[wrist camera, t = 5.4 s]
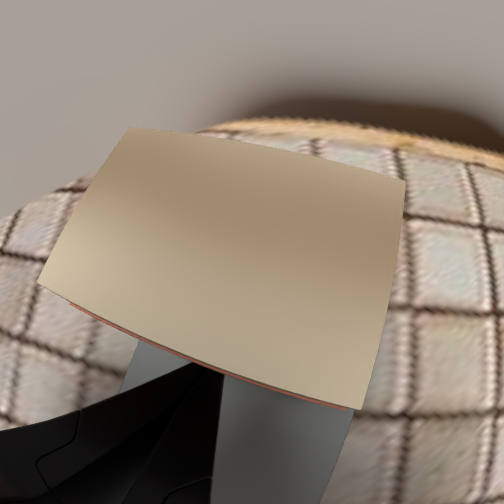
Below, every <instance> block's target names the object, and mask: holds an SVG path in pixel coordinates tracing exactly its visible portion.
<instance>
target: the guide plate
mask: <svg viewBox="0 0 504 504" xmlns="http://www.w3.org/2000/svg"><path fill="white" fill-rule="evenodd" d="M188 363H191V361H189V360H186V359H184V358H181V357H179V356H177V355H174V354H172V353H169V352H167V351H165V350H162V349H160V348H158V347H155V346H153V345H151V344H149V343H146V342H144V341H142V340H139V343H138V345H137V348H136V350H135V353H134V355H133V358H132V360H131V363H130V365H129V368H128V370H127V373H126V375H125V378H124V381H123V383H122V386H121V388H120V391H119V394H120V393H122V392H124V391H127V390H129V389H132V388H134V387H136V386H139V385H141V384H143V383H146V382H148V381H150V380H153V379H155V378H157V377H160V376H162V375H164V374H166V373H169V372H171V371H173V370H175V369H177V368H180V367H182V366H184V365H186V364H188ZM354 411H355V409H350V408H347V409H346V411H345V410H340V409H335V408H332V407H328V406H324V405H320V404H316V403H313V402H309V401H306V400H302V399H299V398H295V397H292V396H289V395H285V394H282V393H279V392H276V391H272V390H269V389H266V388H263V387H260V386H257V385H254V384H251V383H248V382H245V381H242V380H239V379H237V378H234V377H231V376H228V375H225V378H224V386H223V395H222V403H221V412H220V421H219V429H218V438H217V447H216V456H215V465H214V474H213V485H212V494H211V504H319V502H320V500H321V498H322V495H323V493H324V491H325V489H326V486H327V484H328V482H329V479H330V477H331V474H332V472H333V469H334V467H335V464H336V462H337V459H338V457H339V454H340V451H341V449H342V446H343V443H344V440H345V438H346V435H347V432H348V429H349V426H350V423H351V420H352V417H353V414H354Z"/></svg>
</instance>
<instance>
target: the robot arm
mask: <svg viewBox="0 0 504 504" xmlns="http://www.w3.org/2000/svg"><path fill="white" fill-rule="evenodd" d="M224 378H225V374H223V373H220V372H217V371H215V370H212V369H209V368H207V367H204V366H201V365H199V364H196V363H194V362H191V363H188V364H186V365H184V366H182V367H180V368H177V369H175V370H173V371H171V372H169V373H166V374H164V375H162V376H160V377H157V378H155V379H153V380H150V381H148V382H146V383H143V384H141V385H139V386H136V387H134V388H132V389H129V390H127V391H124V392H122V393H120V394H117V395H115V396H112V397H110V398H107V399H105V400H102V401H100V402H97V403H95V404H92V405H90V406H87V407H84V408H82V409H81V411H80V410H76V411H74V412H71V413H68V414H65V415H62V416H59V417H56V418H53V419H50V420H47V421H43V422H39V423H35V424H31V425H27V426H22V427H17V428H12V429H7V430H2V431H0V504H211V494H212V485H213V474H214V465H215V456H216V447H217V438H218V429H219V421H220V412H221V403H222V395H223V386H224Z"/></svg>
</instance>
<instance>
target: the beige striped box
mask: <svg viewBox="0 0 504 504" xmlns="http://www.w3.org/2000/svg"><path fill="white" fill-rule="evenodd" d="M405 185H406V181H403V180H400V179H397V178H393V177H390V176H387V175H383V174H380V173H376V172H373V171H369V170H365V169H362V168H358V167H354V166H350V165H347V164H343V163H339V162H335V161H331V160H327V159H322V158H318V157H314V156H310V155H305V154H301V153H296V152H291V151H287V150H282V149H277V148H272V147H267V146H262V145H257V144H251V143H246V142H240V141H234V140H228V139H222V138H216V137H209V136H202V135H195V134H188V133H181V132H172V131H164V130H155V129H145V128H135V127H129V129H128V130H127V132H126V133H125V134H124V136H123V137H122V138H121V140H120V141H119V143H118V144H117V145H116V147H115V148H114V149H113V151H112V152H111V154H110V155H109V157H108V158H107V160H106V161H105V163H104V164H103V165H102V167H101V168H100V170H99V171H98V173H97V175H96V176H95V178H94V179H93V181H92V182H91V184H90V185H89V187H88V189H87V190H86V192H85V193H84V195H83V197H82V198H81V200H80V202H79V203H78V205H77V207H76V208H75V210H74V212H73V214H72V215H71V217H70V219H69V221H68V222H67V224H66V226H65V228H64V230H63V231H62V233H61V235H60V237H59V239H58V241H57V243H56V244H55V246H54V248H53V250H52V252H51V254H50V256H49V258H48V260H47V262H46V264H45V266H44V268H43V270H42V272H41V274H40V277H39V279H38V281H37V283H39V284H40V285H42V286H44V287H45V288H47V289H49V290H50V291H52V292H54V293H55V294H57V295H59V296H60V297H62V298H64V299H66V300H67V301H69V302H70V305H72V306H74V307H76V308H77V309H79V310H81V311H83V312H85V313H87V314H89V315H90V316H92V317H94V318H96V319H98V320H100V321H102V322H104V323H106V324H108V325H110V326H112V327H114V328H116V329H118V330H121V331H123V332H125V333H127V334H129V335H131V336H133V337H135V338H138V339H140V340H142V341H144V342H146V343H149V344H151V345H153V346H155V347H158V348H160V349H162V350H165V351H167V352H169V353H172V354H174V355H177V356H179V357H181V358H184V359H186V360H189V361H191V362H194V363H196V364H199V365H201V366H204V367H207V368H209V369H212V370H215V371H217V372H220V373H223V374H225V375H228V376H231V377H234V378H237V379H239V380H242V381H245V382H248V383H251V384H254V385H257V386H260V387H263V388H266V389H269V390H272V391H276V392H279V393H282V394H285V395H289V396H292V397H295V398H299V399H302V400H306V401H309V402H313V403H316V404H320V405H324V406H328V407H332V408H335V409H340V410H345V411H346V409H347V408H350V409H357V410H361V408H362V405H363V402H364V398H365V395H366V392H367V388H368V385H369V382H370V378H371V374H372V371H373V367H374V363H375V360H376V356H377V352H378V348H379V344H380V340H381V336H382V331H383V327H384V323H385V318H386V313H387V309H388V304H389V299H390V294H391V288H392V283H393V277H394V272H395V266H396V260H397V253H398V246H399V239H400V232H401V224H402V215H403V206H404V196H405Z"/></svg>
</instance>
